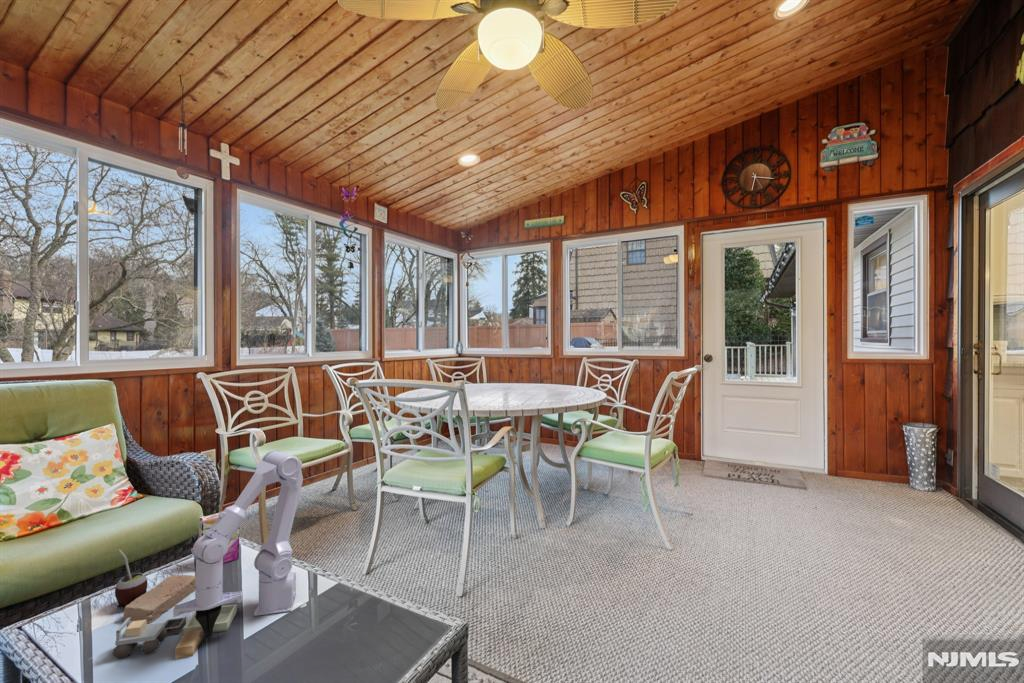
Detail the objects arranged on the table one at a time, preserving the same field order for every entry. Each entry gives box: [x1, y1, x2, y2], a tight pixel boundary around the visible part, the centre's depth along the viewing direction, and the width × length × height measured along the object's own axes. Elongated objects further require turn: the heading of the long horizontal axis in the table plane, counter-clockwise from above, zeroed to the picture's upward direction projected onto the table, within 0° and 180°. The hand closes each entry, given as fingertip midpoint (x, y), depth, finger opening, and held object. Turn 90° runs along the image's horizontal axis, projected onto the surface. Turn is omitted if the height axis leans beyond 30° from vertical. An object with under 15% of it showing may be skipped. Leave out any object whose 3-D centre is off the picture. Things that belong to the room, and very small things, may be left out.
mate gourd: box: [114, 549, 148, 609], centre depth 126 cm, size 8×8×15 cm
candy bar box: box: [198, 512, 241, 565], centre depth 150 cm, size 11×5×16 cm, turn 136°
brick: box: [122, 574, 196, 625], centre depth 127 cm, size 17×8×5 cm, turn 176°
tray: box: [182, 603, 238, 637], centre depth 119 cm, size 10×8×2 cm
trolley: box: [112, 617, 167, 660], centre depth 110 cm, size 9×5×7 cm, turn 106°
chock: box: [174, 630, 203, 660], centre depth 110 cm, size 4×6×3 cm, turn 17°
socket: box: [164, 616, 187, 637], centre depth 117 cm, size 4×4×2 cm
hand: (208, 635), depth 114 cm, fingers closed
